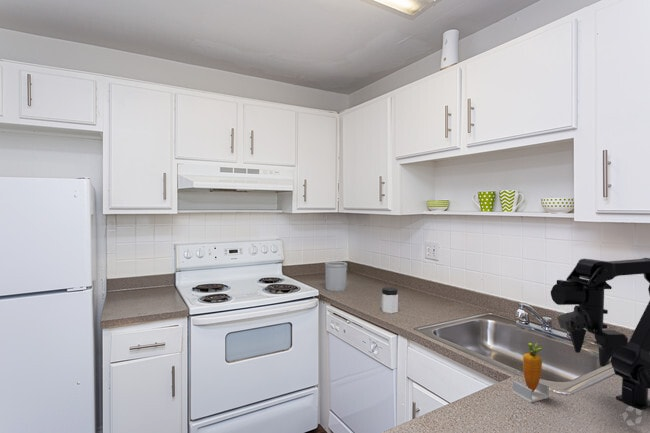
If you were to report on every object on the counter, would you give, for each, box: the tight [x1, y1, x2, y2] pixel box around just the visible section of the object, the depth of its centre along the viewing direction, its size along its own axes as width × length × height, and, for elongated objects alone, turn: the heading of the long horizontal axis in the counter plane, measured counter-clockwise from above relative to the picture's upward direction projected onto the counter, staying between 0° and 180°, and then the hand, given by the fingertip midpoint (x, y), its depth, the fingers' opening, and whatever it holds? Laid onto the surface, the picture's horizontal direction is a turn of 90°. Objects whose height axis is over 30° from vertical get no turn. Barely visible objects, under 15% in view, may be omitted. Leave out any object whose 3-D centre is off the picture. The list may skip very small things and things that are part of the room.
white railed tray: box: [512, 380, 550, 403], centre depth 108 cm, size 7×6×4 cm
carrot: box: [522, 342, 543, 392], centre depth 108 cm, size 5×5×15 cm
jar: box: [381, 286, 399, 314], centre depth 195 cm, size 9×8×12 cm
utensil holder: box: [324, 261, 348, 292], centre depth 246 cm, size 15×15×18 cm
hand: (589, 359), depth 103 cm, fingers open, 9 cm apart
